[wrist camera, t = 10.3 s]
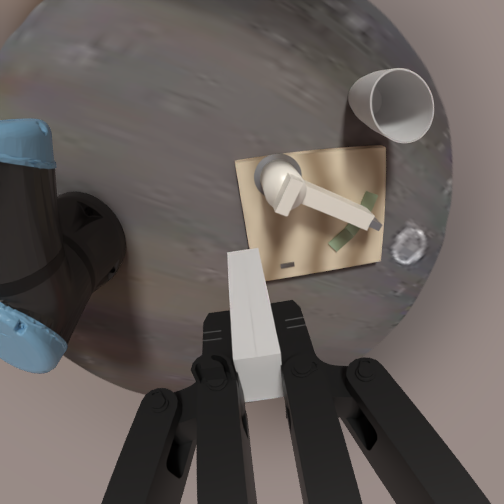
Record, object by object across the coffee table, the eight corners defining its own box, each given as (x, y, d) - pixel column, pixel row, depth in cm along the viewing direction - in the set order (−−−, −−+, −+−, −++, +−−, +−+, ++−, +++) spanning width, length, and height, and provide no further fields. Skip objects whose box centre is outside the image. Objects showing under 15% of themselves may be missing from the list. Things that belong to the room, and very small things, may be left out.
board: (254, 276, 46) (255, 283, 45) (234, 156, 37) (234, 160, 35) (376, 255, 46) (381, 262, 44) (380, 141, 37) (386, 144, 35)
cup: (400, 112, 34) (443, 124, 26) (355, 138, 36) (390, 156, 28) (373, 60, 31) (414, 57, 22) (325, 86, 33) (356, 87, 24)
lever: (254, 187, 37) (259, 209, 31) (268, 154, 35) (277, 169, 29) (361, 229, 41) (382, 256, 35) (377, 202, 39) (401, 224, 33)
